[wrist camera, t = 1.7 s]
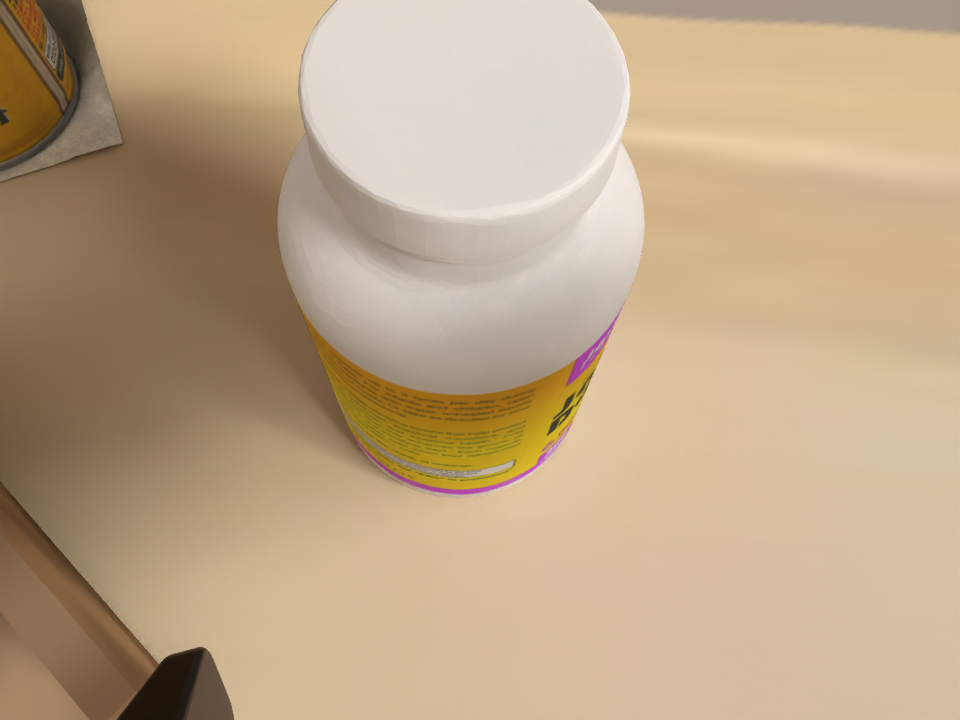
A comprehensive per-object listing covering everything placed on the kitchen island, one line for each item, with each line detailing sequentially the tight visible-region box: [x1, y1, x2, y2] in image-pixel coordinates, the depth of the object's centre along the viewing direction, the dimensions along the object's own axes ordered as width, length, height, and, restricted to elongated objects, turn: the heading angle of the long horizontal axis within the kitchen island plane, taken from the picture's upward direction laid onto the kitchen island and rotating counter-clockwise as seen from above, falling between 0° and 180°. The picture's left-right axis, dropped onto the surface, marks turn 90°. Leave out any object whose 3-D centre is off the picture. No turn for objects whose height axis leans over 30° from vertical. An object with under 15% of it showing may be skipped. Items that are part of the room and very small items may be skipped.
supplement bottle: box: [277, 0, 644, 498], centre depth 17 cm, size 7×7×13 cm
